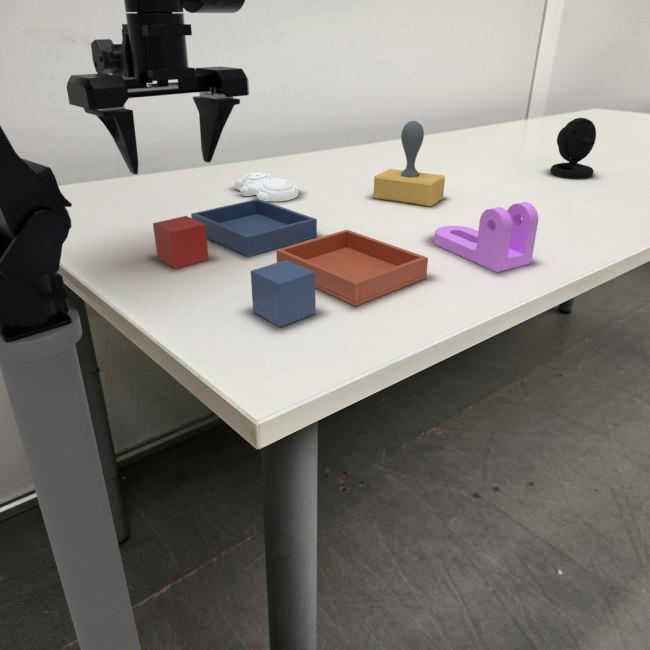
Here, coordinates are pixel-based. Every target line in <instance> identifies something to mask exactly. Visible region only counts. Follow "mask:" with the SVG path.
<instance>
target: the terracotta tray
mask: <svg viewBox="0 0 650 650" xmlns="http://www.w3.org/2000/svg"><path fill="white" fill-rule="evenodd" d="M275 250H276V251H275V253H276V263H278V262H281V261H285V260H288V261H290V262H293V263H295V264H297V265H299V266H302V267H304V268H306V269H309V270H311V271H313V272H315V289H317V290H319V291H321V292H324V293H326V294H327V295H330V296H332V297H334V298H337V299H338V300H341V301H343V302H344V303H348V304H350V305H352V306H354V307H357V306H360V305H362V304H365V303H367V302H370V301H372V300H376V299H377V298H380V297H382V296H385V295H388V294H390V293H392V292H393V293H394V292H395V291H398V290H401V289H402V288H405V287H407V286H410V285H412V284H415V283H418V282H420V281H423V280H426V279H427V277H428V263H429V256H428V257H427V256H425V255H421V254H419V253H416V252H413V251H410V250H407V249H404V248H401V247H399V246H396V245H393V244H390V243H387V242H385V241H382V240H379V239H376V238H373V237H370V236H368V235H367V236H366V235H364V234H361V233H358V232H355V231H353V230H350V229H344V230H341V231H337V232H334V233H329V234H326V235H324V236H320V237H315V238H312V239H308V240H305V241H301V242H298V243H294V244H291V245H287V246H284V247H281V248H277V249H275Z"/></svg>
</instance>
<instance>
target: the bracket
mask: <svg viewBox="0 0 650 650" xmlns="http://www.w3.org/2000/svg"><path fill="white" fill-rule="evenodd" d="M538 224H539V213H538V210H537V209H536V207H535V206H534V205H533V204H532V203H530V202H527V201H522V202H518V203H513V204H511V205H510V206H509V207H508V209H505V208H504V207H499V206H498V207H492V208H487V209H486V210H484V211H483V212H482V213H481V215H480V218H479V225H478V230H476V229H474V228H472V227H468V226H464V225H443V226H439V227H437V228H436V229H435V230H434V244H435V245H436V246H438V247H440V248H441V249H444V250H447V251H449V252H451V253H453V254H455V255H458V256H459V257H462V258H465V259H466V260H469V261H471V262H473V263H476V264H478V265H480V266H482V267H484V268H487V269H488V270H491V271H492V272H493V271H494V272H495V273H500V272H504V271H508V270H512V269H516V268H520V267H523V266H526V265H530V264H532V260H533V255H534V251H535V250H534V249H535V242H536V238H537V230H538Z"/></svg>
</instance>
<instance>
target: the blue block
mask: <svg viewBox="0 0 650 650" xmlns="http://www.w3.org/2000/svg"><path fill="white" fill-rule="evenodd" d="M250 282H251V299H252V312H253V313H254V314H256V315H257V316H259V317H261V318H262V319H265V320H267V321H268V322H270V323H272V324H274V325H275V326H277V327H279V328H282V327H285V326H287V325H290V324H292V323H295V322H299V321H301V320H303V319H305V318H308V317H311V316H314V315H316V312H317V311H316V288H315V272H313V271H311V270H309V269H306V268H304V267H302V266H299V265H297V264H295V263H293V262H290V261H288V260H285V261H281V262H278V263H277V262H274V263H271V264H268V265H265V266H262V267H259V268H256V269H253V270H250Z"/></svg>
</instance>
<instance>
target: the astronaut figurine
mask: <svg viewBox="0 0 650 650" xmlns="http://www.w3.org/2000/svg"><path fill="white" fill-rule="evenodd" d="M234 189H235V190H237V191H239V193H240V195H241V196H243V197H249V196H256V199H260V200H263V201H266V202H286V201H291V200H294V199H297V198H298V196H299V193H300V189H299V186H297V185H295V184H294V183H293V182H291V181H289V180H287V179H285V178H279V177H275V178H274V177H273V176H271V174H270V173H268V172H262V171H256V172H248V173H247V174H245V175H243V176H242V177H239V178H237V179H236V180H235V181H234Z"/></svg>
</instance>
